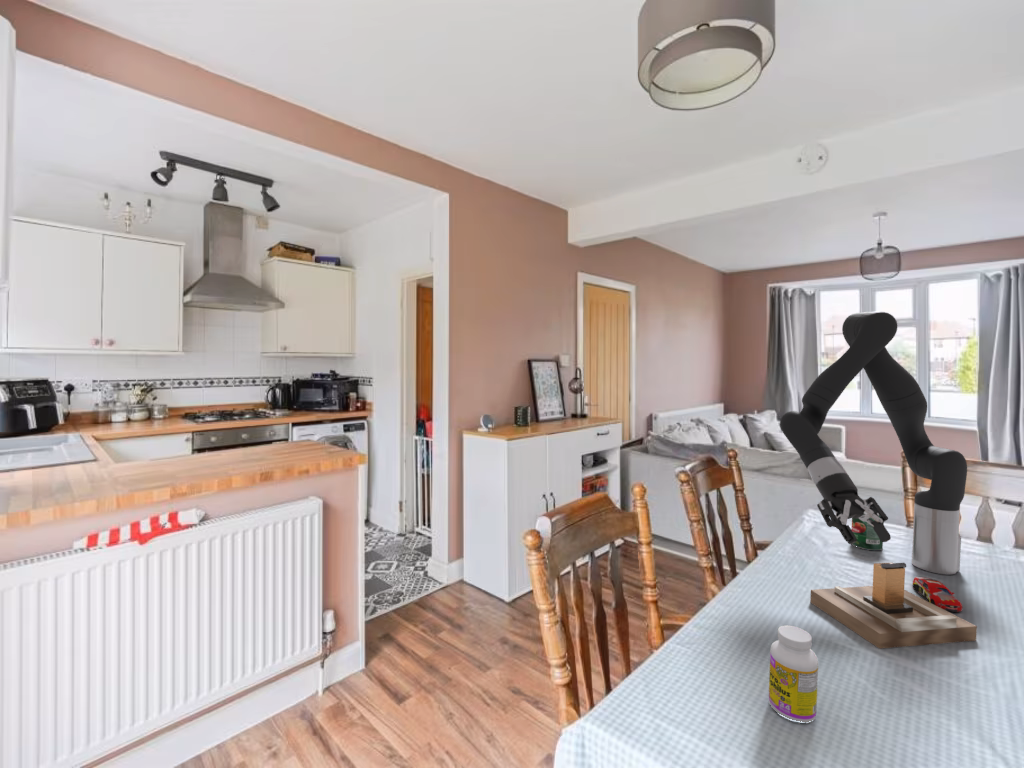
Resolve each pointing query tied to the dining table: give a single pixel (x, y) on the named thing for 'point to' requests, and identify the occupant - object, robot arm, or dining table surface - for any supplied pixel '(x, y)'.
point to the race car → (936, 594)
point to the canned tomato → (866, 535)
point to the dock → (893, 619)
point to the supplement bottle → (793, 675)
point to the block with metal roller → (888, 588)
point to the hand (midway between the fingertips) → (870, 541)
